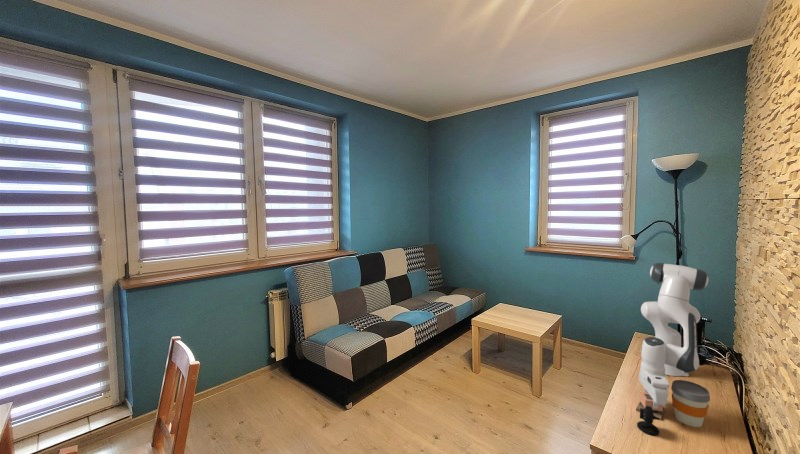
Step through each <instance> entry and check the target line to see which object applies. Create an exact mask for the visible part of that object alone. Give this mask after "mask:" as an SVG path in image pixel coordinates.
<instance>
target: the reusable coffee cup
mask: <svg viewBox="0 0 800 454" xmlns="http://www.w3.org/2000/svg"><path fill="white" fill-rule="evenodd" d="M670 390H671V391H672V393H671V400H672V407H673V409H674V416H675V418H676V420H678V421H679V422H680V423H682V424H685V425H686V426H689V427H694V428H701V427H702V426H703V424H704V420H705V417H707V416H708V410H709V407H710V406H709V403H710V400H711V398H710V397H711V396H710V395H711V394H710V392H709V390H708V389H707V388H705V387H704V386H703V385H701V384H698V383H696V382H692V381H688V380H684V379H676V380H673V381H672V383H671V387H670Z"/></svg>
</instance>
